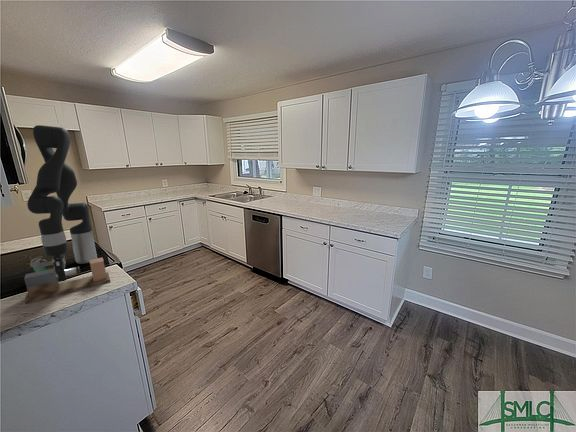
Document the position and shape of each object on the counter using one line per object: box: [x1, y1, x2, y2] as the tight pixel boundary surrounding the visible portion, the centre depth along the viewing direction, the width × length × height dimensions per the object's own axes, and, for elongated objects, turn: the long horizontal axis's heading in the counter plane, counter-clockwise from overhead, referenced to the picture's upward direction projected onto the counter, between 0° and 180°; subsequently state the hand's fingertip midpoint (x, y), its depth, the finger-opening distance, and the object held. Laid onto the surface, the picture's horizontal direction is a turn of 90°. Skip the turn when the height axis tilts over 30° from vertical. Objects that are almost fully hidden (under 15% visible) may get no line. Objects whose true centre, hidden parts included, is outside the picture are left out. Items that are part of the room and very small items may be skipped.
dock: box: [24, 271, 111, 305], centre depth 110 cm, size 28×10×6 cm, turn 130°
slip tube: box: [55, 266, 81, 279], centre depth 106 cm, size 17×3×3 cm, turn 130°
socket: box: [89, 257, 107, 281], centre depth 116 cm, size 5×5×9 cm
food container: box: [29, 255, 54, 272], centre depth 116 cm, size 12×6×10 cm, turn 62°
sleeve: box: [23, 268, 57, 289], centre depth 103 cm, size 9×5×4 cm, turn 130°
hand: (63, 278), depth 108 cm, fingers open, 5 cm apart
